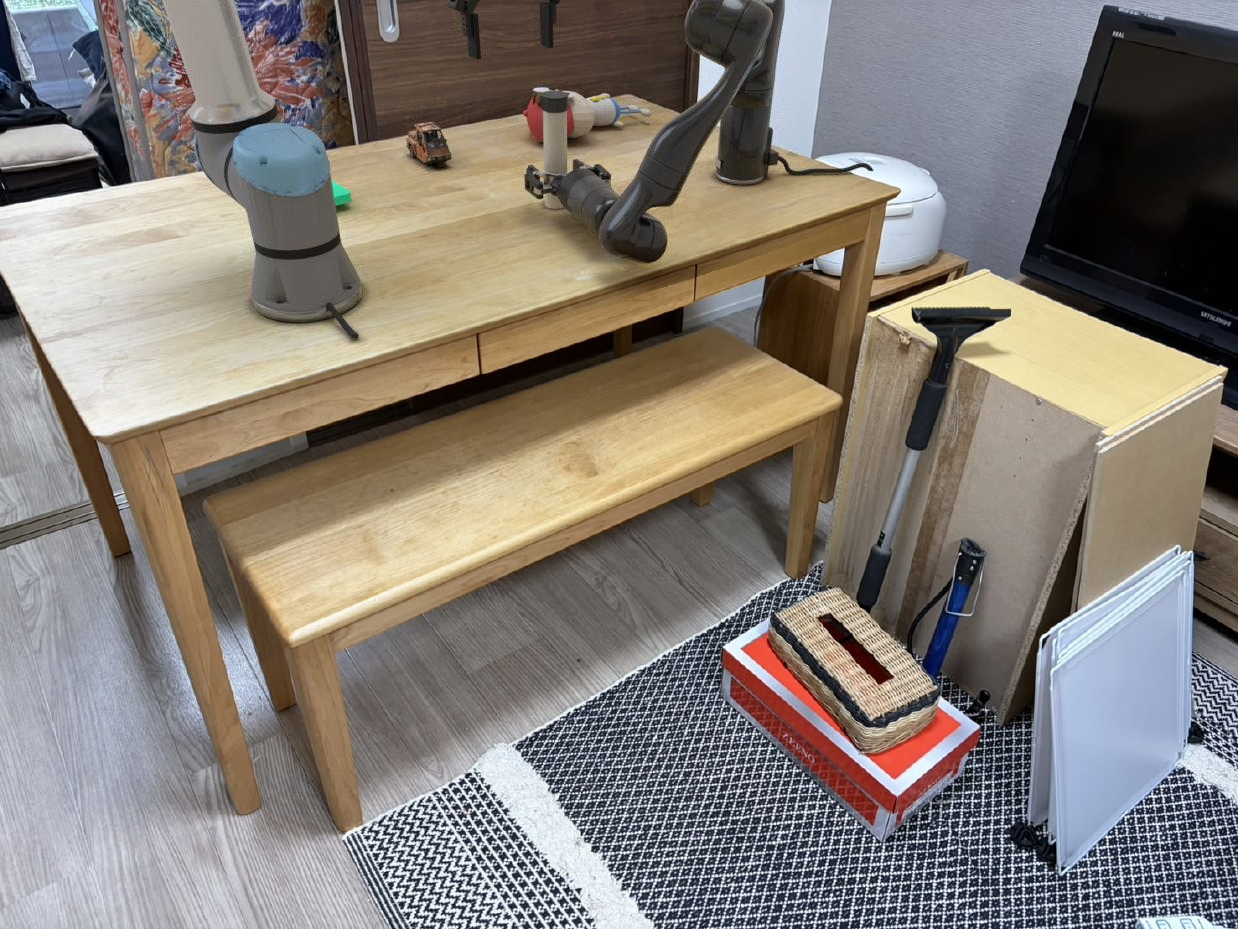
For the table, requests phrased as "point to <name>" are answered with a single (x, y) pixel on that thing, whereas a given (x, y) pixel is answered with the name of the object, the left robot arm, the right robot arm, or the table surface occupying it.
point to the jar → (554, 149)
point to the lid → (554, 101)
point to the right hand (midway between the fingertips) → (552, 167)
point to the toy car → (428, 144)
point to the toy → (579, 113)
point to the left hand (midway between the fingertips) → (511, 51)
